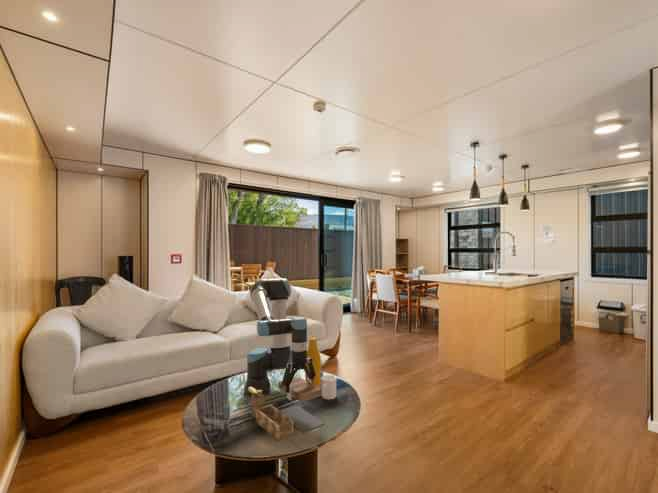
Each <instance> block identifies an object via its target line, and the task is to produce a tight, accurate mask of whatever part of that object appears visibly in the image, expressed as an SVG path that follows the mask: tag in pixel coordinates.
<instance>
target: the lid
mask: <svg viewBox="0 0 658 493" xmlns="http://www.w3.org/2000/svg"><path fill="white" fill-rule="evenodd" d="M282 381H283V380H280V381H278V389H280V390H282V391H283V392H284V393H286V394H287V392H286V386H284V385H283V384H282ZM290 385H291V397H292V398H294V399H296V400H298V401H299V402H301V403H304V402H308V401H311V400H313V399H316V398H318V397H322V389H321V387H320V388H319V387H317V386H315V385H313V384H311V383H309V382H307V381H305V379H303V378H301V377H299V376H294V377H293V380H292V382H291V384H290Z"/></svg>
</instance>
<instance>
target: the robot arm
mask: <svg viewBox="0 0 658 493" xmlns="http://www.w3.org/2000/svg"><path fill="white" fill-rule="evenodd" d="M291 295H292V290H291V285H290V282H289V280H288V279H287V278H285V277H284V278H283V277H282V278H279V277H278V278H261V279H259V280H257V281H256V282H255V283H254V284H253V285H252V286H251V288H250V292H249V297H250V299H251V301H253V304H254V308H255V311H256V314H257V318H258V321H257V323H256V333H257V334H256V335H258V337H271V336H272V344H271V345H270V349H269V350H268V348H267V347H256V348H254V349H252V350H250V351H249V352H248V353H247V358H246V365H247V368H246V372H247V373H246V374H247V375H246V381H245V383H244V384H245V385H244V387H243V388H244V389H243V391H244V392H243V393H244V394H245V395H247V396H250V397H252V393H251V392H250V391H248V387H251V386H252V387H253V388H255V389H256V390H262V391H263V395H266V394H268V393H269V392H271V389H272V388H271V387H272V386H271V383H270V378H269V375H268V372H271V371H279V370H285V371H284V375H283V377H282V380H281V381H282V384H283V385H284V386H286V392H287V393H286V392H285V393H286V398H287V399H288V400H289V401H292V396H291V385H290V384H291V382H292V380H293V377H295V375H296V373H298V371H300V370H303V372H304V373H306V374H307V376H308V377H309V378H307V382H309V383H311V384H313V379H314V377H315V376H316V373H315V370H314V367H313V364H312V358H309V357H308V358H307V351H308V321H307V317H304V316H295V317H293V316H289V317H287V304H286V303H287V301H288V300H289V297H291ZM269 302H270V303H271V306H270V304H269ZM290 334H291V335H290ZM288 335H290V336H291V345H290V343H288ZM306 363H308V366H309V369H310V371H309V370H308V368H307V366H306ZM310 372H311V373H310Z"/></svg>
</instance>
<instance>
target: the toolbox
mask: <svg viewBox="0 0 658 493" xmlns="http://www.w3.org/2000/svg"><path fill="white" fill-rule="evenodd" d="M261 393H262V397H259V398H258V397H256V396H255V393H254V392H252V396H251V416H252V417H253V418H254V419H255V423H256V424H257V425H258V426H259V427H261V428H262V429H263V430H264V431H265V432H266V433H267V434H268V435H269V436H271V437H272V438H274V440H275V441H276V442H280V441H281V440H284V439H287V438H288V437H291V436H294V426H293V420H292V419H290V418H289V417H288V416H286V415H285V414H284V413H282V412H281V411H280V410H279V409H278V408H276V407H275V405H272V404H268V405H266V404H265V403H266V401H265V400H266V396H265V394H263V391H262V390H261Z"/></svg>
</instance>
